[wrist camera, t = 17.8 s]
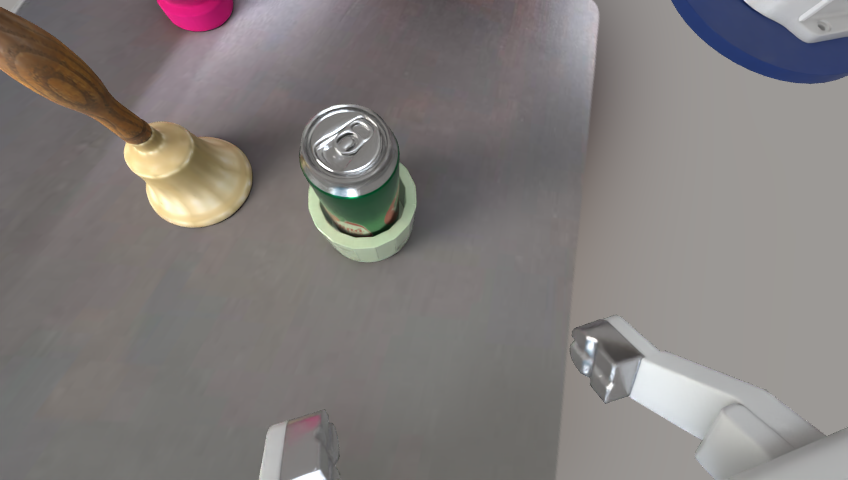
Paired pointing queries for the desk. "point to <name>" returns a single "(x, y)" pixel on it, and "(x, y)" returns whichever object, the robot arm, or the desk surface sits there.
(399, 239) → the socket
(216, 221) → the hand bell
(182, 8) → the pepper mill
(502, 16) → the desk surface
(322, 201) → the soda can
